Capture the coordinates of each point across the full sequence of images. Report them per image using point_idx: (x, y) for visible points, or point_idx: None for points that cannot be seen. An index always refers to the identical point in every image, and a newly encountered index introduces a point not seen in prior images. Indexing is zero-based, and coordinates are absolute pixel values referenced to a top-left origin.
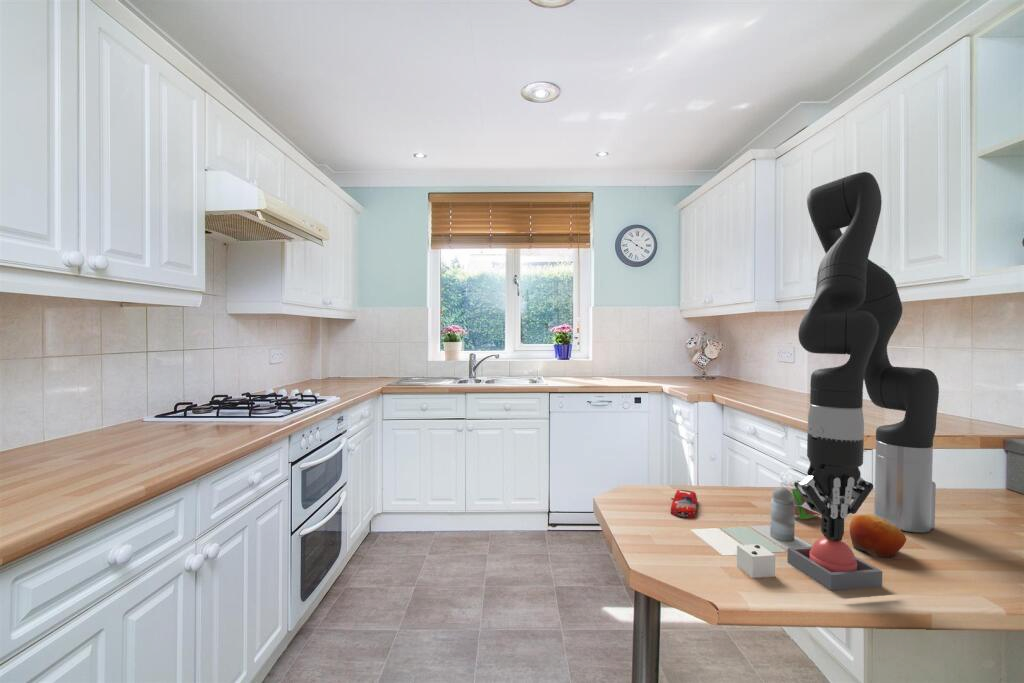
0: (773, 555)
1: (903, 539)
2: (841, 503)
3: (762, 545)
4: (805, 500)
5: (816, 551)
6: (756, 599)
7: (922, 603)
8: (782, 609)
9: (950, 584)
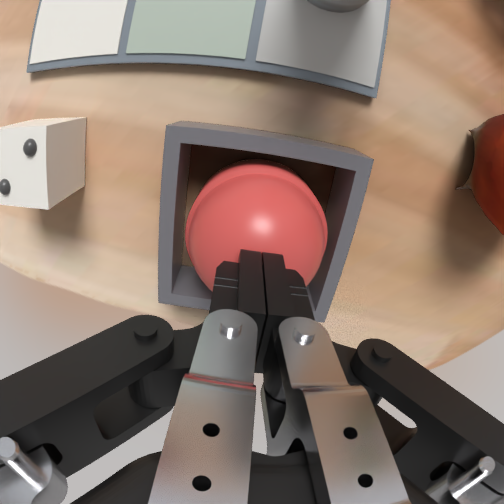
0: (44, 207)
1: None
2: (269, 450)
3: (197, 4)
4: (59, 361)
5: (190, 235)
6: (14, 243)
7: (337, 338)
8: (41, 281)
9: (463, 302)
